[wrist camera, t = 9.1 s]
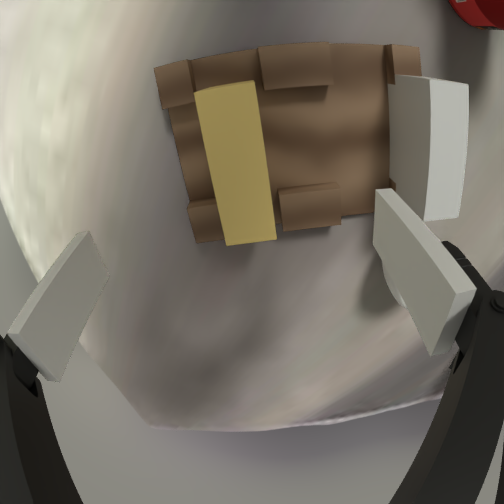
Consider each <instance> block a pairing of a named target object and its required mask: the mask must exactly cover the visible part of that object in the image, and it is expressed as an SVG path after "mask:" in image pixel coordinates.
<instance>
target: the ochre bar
mask: <svg viewBox="0 0 504 504" xmlns="http://www.w3.org/2000/svg"><path fill="white" fill-rule="evenodd" d="M194 96H195V101H196V106H197V111H198V116H199V121H200V126H201V131H202V136H203V141H204V146H205V150H206V155H207V160H208V165H209V169H210V174H211V179H212V183H213V188H214V192H215V197H216V202H217V206H218V211H219V215H220V220H221V224H222V228H223V233H224V237H225V242H226V246H229V245H237V244H245V243H252V242H260V241H268V240H276V239H277V237H276V229H275V221H274V213H273V205H272V198H271V190H270V183H269V176H268V168H267V161H266V154H265V147H264V140H263V134H262V127H261V120H260V114H259V107H258V101H257V94H256V88H255V82H254V80H251V81H244V82H237V83H231V84H225V85H220V86H214V87H209V88H206V89H203V90H200V91H197V92H194Z"/></svg>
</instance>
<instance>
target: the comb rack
mask: <svg viewBox="0 0 504 504" xmlns="http://www.w3.org/2000/svg"><path fill="white" fill-rule="evenodd" d="M154 72H155V77H156V82H157V87H158V91H159V96H160V101H161V105H162V110H163V109H166V108H168V111H169V116H170V120H171V125H172V129H173V134H174V138H175V142H176V147H177V151H178V155H179V159H180V163H181V167H182V171H183V176H184V180H185V184H186V187H187V191H188V195H189V199H190V203H189V205H188V207H187V211H188V215H189V219H190V222H191V226H192V229H193V233H194V237H195V240H196V243H202V242H209V241H217V240H224V239H225V237H224V233H223V228H222V224H221V220H220V215H219V211H218V206H217V202H216V197H215V192H214V188H213V183H212V179H211V174H210V169H209V165H208V160H207V155H206V150H205V146H204V141H203V136H202V131H201V126H200V121H199V116H198V111H197V106H196V101H195V96H194V92H197V91H200V90H203V89H206V88H209V87H214V86H220V85H225V84H231V83H237V82H244V81H251V80H254V82H255V88H256V94H257V101H258V107H259V114H260V120H261V127H262V134H263V140H264V147H265V154H266V161H267V168H268V176H269V183H270V190H271V198H272V205H273V213H274V221H275V224H280V223H282V227H283V232H285V231H293V230H301V229H309V228H317V227H325V226H333V225H341V216H346V215H355V214H364V213H373V212H375V190H376V189H388V188H392V189H393V190H394V191H395V192H396V183H395V182H394V181H393V180H392V179H391V178H389V169H390V125H389V99H388V84H393V85H395V75H407V76H419V77H422V75H421V62H420V51H419V47H412V46H404V45H394V44H390V45H372V44H329V42H310V43H292V44H280V45H270V46H261V47H258V48H257V49H250V50H243V51H237V52H230V53H225V54H219V55H214V56H209V57H204V58H199V59H194V60H183V61H179V62H175V63H171V64H167V65H163V66H160V67H156V68H154ZM400 198H401V197H400ZM416 215H417V214H416Z"/></svg>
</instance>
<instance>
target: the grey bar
mask: <svg viewBox="0 0 504 504" xmlns="http://www.w3.org/2000/svg"><path fill="white" fill-rule="evenodd" d="M388 99H389V125H390V169H389V178H391V179H392V180H393V181H394V182H395V183H396V193H397V194H398V195H399V196H400V197H401V199H402V200H403V201H404V202H405V203H406V204H407V205H408V206H409V207H410V208H411V209H412V210H413V211H414V212H415V213H416V214H417V215H418V216H419V217H420V218H421V219H422V221H432V220H441V219H450V218H458V215H459V210H460V204H461V197H462V191H463V183H464V175H465V166H466V155H467V142H468V120H469V87H468V84H464V83H459V82H453V81H448V80H442V79H436V78H429V77H419V76H407V75H395V85H393V84H388Z"/></svg>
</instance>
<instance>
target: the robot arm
mask: <svg viewBox="0 0 504 504" xmlns="http://www.w3.org/2000/svg"><path fill="white" fill-rule="evenodd" d="M373 246H374V247H375V249H376V251H377V252H378V254H379V256H380V258H381V259H382V261H383V263H384V265H385V267H386V268H387V270H388V272H389V274H390V276H391V278H392V279H393V281H394V283H395V285H396V287H397V289H398V291H399V293H400V295H401V297H402V298H403V300H404V302H405V304H406V306H407V308H408V310H409V312H410V314H411V316H412V318H413V321H414V323H415V325H416V327H417V329H418V331H419V333H420V335H421V337H422V340H423V342H424V344H425V346H426V348H427V351H428V353H429V355H430V357H432V356H436V355H439V354H443V353H446V352H449V351H450V349H451V347H452V345H453V343H454V341H455V340H456V342H457V344H458V346H459V348H460V349H459V351H458V352H457V354H456V356H455V358H454V360H453V362H452V363H451V365H450V367H449V368H451V369H452V370H451V373H450V376H449V379H448V382H447V385H446V388H445V391H444V393H443V396H442V399H441V402H440V404H439V407H438V409H437V412H436V414H435V416H434V419H433V421H432V423H431V426H430V428H429V430H428V433H427V435H426V437H425V439H424V441H423V443H422V445H421V447H420V450H419V451H418V454H417V455H416V457H415V459H414V461H413V463H412V465H411V467H410V469H409V471H408V472H407V474H406V476H405V478H404V479H403V481H402V483H401V485H400V486H399V488H398V490H397V491H396V493H395V495H394V496H393V498H392V499H391V501H390V503H389V504H475V501H476V500H477V497H478V495H479V492H480V490H481V488H482V485H483V483H484V480H485V478H486V475H487V472H488V470H489V467H490V464H491V461H492V458H493V455H494V452H495V449H496V446H497V443H498V439H499V435H500V432H501V428H502V424H503V420H504V292H502V291H497V290H493V291H492V290H491V288H490V287H489V286H488V284H487V283H486V282H485V280H484V279H483V278H482V277H481V275H480V274H479V273H478V271H477V270H476V269H475V268H474V266H472V265H471V263H470V261H469V260H468V259H466V257H465V255H464V254H463V253H462V252H461V251H460V250H459V248H457V247H456V246H454V245H453V244H451V243H450V242H448V241H443V242H440V241H439V240H438V238H437V237H436V236H435V235H434V234H433V233H432V231H431V230H430V229H429V228H428V227H427V226H426V225H425V223H424V222H423V221H422V220H421V219H420V218H419V217H418V216H417V215H416V213H415V212H414V211H413V210H412V209H411V208H410V207H409V206H408V205H407V204H406V203H405V202H404V201H403V200H402V199H401V198H400V196H399V195H398V194H397V193H396V192H395V191H394V190H393V189H392V188H388V189H376V190H375V214H374V231H373ZM109 277H110V275H109V273H108V271H107V269H106V267H105V265H104V263H103V261H102V259H101V257H100V254H99V252H98V250H97V248H96V246H95V243H94V241H93V239H92V236H91V234H90V232H89V231H87V232H82V233H77V234H76V236H75V237H74V238H73V239H72V241H71V242H70V243H69V244H68V246H67V247H66V248H65V249H64V251H63V252H62V253H61V254H60V256H59V257H58V258H57V260H56V261H55V262H54V264H53V265H52V266H51V268H50V269H49V270H48V272H47V273H46V274H45V276H44V277H43V279H42V280H41V281H40V283H39V284H38V286H37V287H36V288H35V290H34V291H33V293H32V294H31V296H30V297H29V299H28V300H27V302H26V303H25V305H24V306H23V308H22V309H21V311H20V312H19V314H18V316H17V317H16V319H15V320H14V322H13V324H12V325H11V327H10V328H9V330H8V332H7V334H6V336H5V338H4V339H3V338H2V336H1V335H0V504H83V502H82V500H81V498H80V496H79V494H78V492H77V489H76V487H75V485H74V483H73V480H72V478H71V476H70V473H69V471H68V468H67V466H66V463H65V461H64V458H63V455H62V453H61V450H60V447H59V445H58V441H57V439H56V436H55V432H54V429H53V426H52V423H51V419H50V416H49V413H48V409H47V405H46V401H45V398H44V394H43V389H42V385H41V382H40V380H39V379H38V378H37V377H36V376H37V374H38V372H40V373H41V374H42V375H43V376H44V377H45V379H47V380H48V381H55V382H60V381H61V378H62V376H63V374H64V371H65V369H66V366H67V364H68V362H69V359H70V357H71V355H72V352H73V350H74V348H75V346H76V343H77V341H78V339H79V337H80V335H81V333H82V330H83V328H84V326H85V324H86V322H87V320H88V318H89V316H90V314H91V312H92V310H93V308H94V306H95V304H96V302H97V300H98V298H99V296H100V294H101V292H102V290H103V288H104V286H105V284H106V283H107V281H108V279H109ZM495 504H504V444H503V455H502V464H501V472H500V478H499V484H498V490H497V495H496V500H495Z"/></svg>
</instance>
